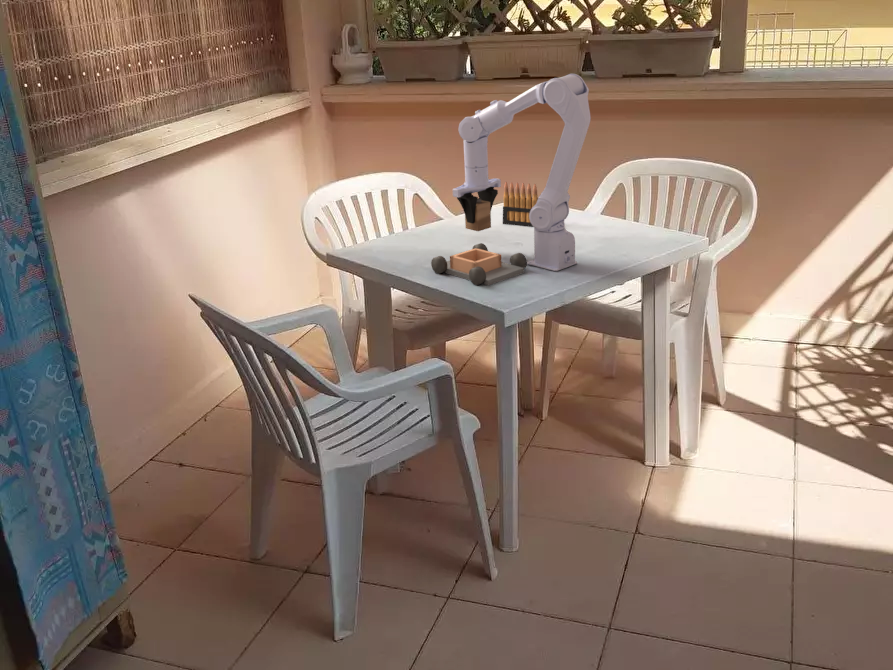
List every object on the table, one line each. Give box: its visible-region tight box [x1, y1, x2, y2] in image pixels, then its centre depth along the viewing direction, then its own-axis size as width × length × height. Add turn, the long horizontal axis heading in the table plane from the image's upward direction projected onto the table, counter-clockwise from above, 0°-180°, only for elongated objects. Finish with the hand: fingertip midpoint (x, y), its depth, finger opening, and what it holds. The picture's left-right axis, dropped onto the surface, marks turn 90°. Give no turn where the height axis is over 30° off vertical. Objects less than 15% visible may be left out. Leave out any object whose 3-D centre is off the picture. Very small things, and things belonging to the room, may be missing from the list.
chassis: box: [430, 242, 528, 286], centre depth 209 cm, size 18×15×4 cm
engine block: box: [464, 197, 492, 232], centre depth 219 cm, size 4×4×7 cm
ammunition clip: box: [502, 181, 539, 228], centre depth 245 cm, size 11×2×12 cm, turn 60°
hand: (478, 220), depth 220 cm, fingers closed on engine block, 4 cm apart
